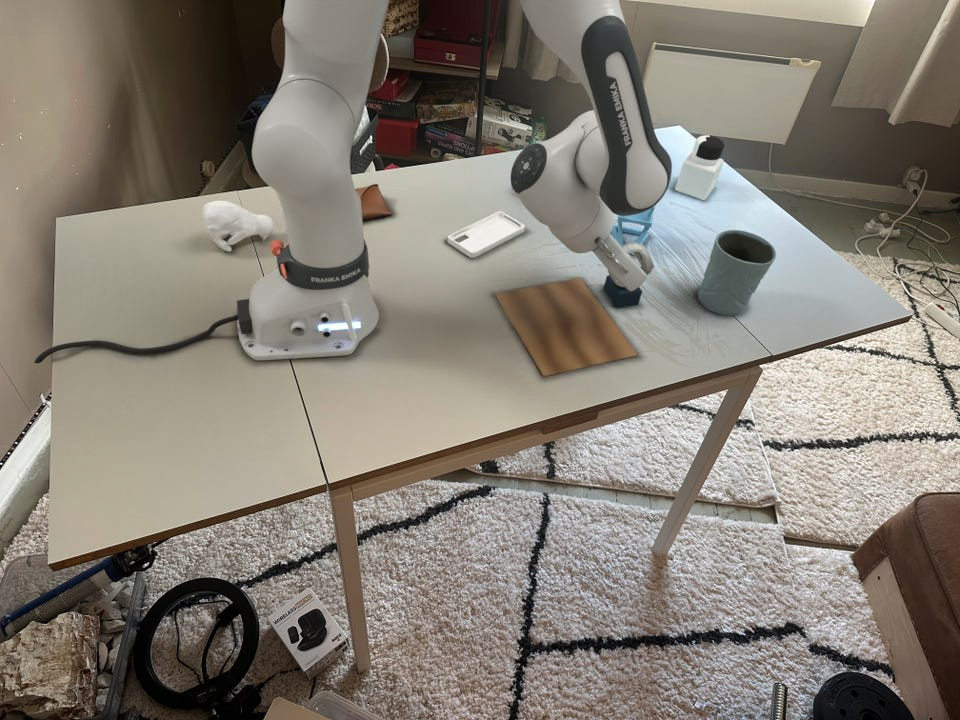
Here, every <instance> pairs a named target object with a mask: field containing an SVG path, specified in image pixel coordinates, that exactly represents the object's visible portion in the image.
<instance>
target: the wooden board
mask: <svg viewBox="0 0 960 720" xmlns="http://www.w3.org/2000/svg"><path fill="white" fill-rule="evenodd" d="M494 295H495V297H496V300H497V301H498V303H499V304H500V306H501V308H502V309H503V311H504V313H505V314H506V316H507V319H509V321H510V322H511V324H512V326H513V328H514V329H515V331H516V333H517V335H518V336H519V338H520V340H521V342H522V344H523V345H524V346H525V349H526V350H527V351H528V353H529V355H530V357H531V359H532V360H533V362H534V364H535V365H536V367H537V369H538V371H539V372H540V374H541V376H542V377H543V378H547V377H551V376H555V375H559V374H564V373H568V372H572V371H578V370H581V369H586V368H592V367H596V366H600V365H605V364H609V363H613V362H618V361H622V360H626V359H631V358H635V357H638V352H636V350H635V349H634V347H633V346H632V344H631V343H630V342H629V341H628V340H627V338H626V337H625V335H624V334H623V332H622V331H621V330H620V328H619V327H618V326H617V324H615V322H614V321H613V320H612V318H611V316H610V315H609V314H608V313H607V312H606V310H605V308H604V307H603V306H602V305H601V303H600V302H599V301H598V299H597V298H596V297H595V295H594V294H593V293H592V291H591V290H590V289H589V287H588V286H587V285H586V283H585V282H584V281H583V280H582V278H580V277H579V278H574V279H569V280H568V279H567V280H562V281H558V282H557V281H556V282H551V283H546V284H540V285H535V286H529V287H525V288H519V289H513V290H507V291H506V290H505V291H501V292H496V293H494Z"/></svg>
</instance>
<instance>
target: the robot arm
mask: <svg viewBox="0 0 960 720" xmlns="http://www.w3.org/2000/svg"><path fill="white" fill-rule="evenodd" d="M284 1H285V2H284V7H283V12H282V13H283V14H282V24H283V27H284V41H285V42H284V61H283V63H284V64H283V70H282V74H281V78H280V81H279V83H278V85H277V88H276V90H275V92H274V94H273V95H272V97H271V99H270V100H269V102H268V104H267V105H266V107H265V108H264V110H263V111H262V113H261V115H260V116H259V117H258V120H257V122H256V125H255V129H254V135H253V139H252V146H251V158H252V162H253V165H254V168H255V170H256V172H257V174H258V175H259V177H260V178H261V179H262V181H263V182H264V183H265V184H267V186H269V187H270V188H271V189H273V190H274V191H275V194H276V195H277V198H278V201H279V203H280V207H281V210H282V215H283V221H284V227H285V232H286V238H287V245H286V246H285V244H284V241H282V240H280V239H275V240H274V239H273V241H271V243H270V250H271V253H272V255H273V256H274V257H276V264H277V266H276V267H275V268H273V269H272V270H271V271H269V272H268V273H267V274H266V275H264V276H263V277H261V278H260V279H258V280H257V281H255V283H254V284H253V286H252V287H251V289H250V294H249V298H246V299H237V300H236V309H237V314H235V315H231V316H228V317H225V318H222V319H219V320H217V321H215V322H214V323H212V324H211V325H210V327H209V328H208V329H206V330H204V331H203V332H201V333H199V334H197V335H195V336H192V337H189V338H188V339H185V340H182V341H179V342H176V343H172V344H168V345H162V346H156V347H144V348H143V347H141V348H139V347H131V346H126V345H123V344H119V343H117V342H112V341H107V340H84V341H83V340H82V341H73V342H67V343H62V344H57V345H54V346H52V347H50V348H48V349H45V350H44V351H43V352H41V353H40V354H39V355H38V356H37V357H36V358H35V360H34V364H40V363H42V362H43V361H44V360H45V359H46V358H47V357H49V356H50V355H52V354H54V353H57V352H60V351H63V350H68V349H74V348H84V347H104V348H109V349H115V350H117V351H121V352H124V353H128V354H135V355H137V354H138V355H147V354H156V353H164V352H168V351H172V350H173V351H174V350H177V349H180V348H183V347H185V346H186V347H187V346H188V345H191V344H193V343H196V342H199V341H200V340H203V339H205V338H207V337H209V336H210V335H212V334H213V333H214V332H215V331H216V330H217V328H219V327H221V326H224V325H226V324H229V323H233V322H236V321H237V333H238V334H237V335H238V339H239V342H240V346H241V347H242V349H243V350H244V352H245V353H246V354H247V355H248V356H249V358H251V359H253V360H254V361H276V360H291V359H308V358H325V357H326V358H327V357H341V356H342V357H343V356H349V355H351V354H352V353H353V354H354V352H355V351H356V349H357V347H358V345H359V343H360V342H361V341H362V340H363V339H365V338H366V337H368V336H369V335H370V334H371V333H372V332H373V331H374V330H375V328H376V327H377V325H378V322H379V317H380V312H379V308H378V306H377V304H376V302H375V300H374V297H373V294H372V290H371V286H370V282H369V276H370V273H369V272H370V257H369V256H370V255H369V248H368V245H367V243H366V240H365V237H364V222H363V221H362V207H361V199H360V196H359V194H358V193H357V192H356V191H355V189H356V187H355V184H354V181H353V177H352V171H351V156H352V155H351V154H352V148H353V143H354V140H355V137H356V135H357V132H358V130H359V127H360V124H361V122H362V118H363V115H364V112H365V107H366V102H367V98H368V94H369V89H370V86H371V85H370V84H371V82H372V81H371V80H372V76H373V71H374V67H375V61H376V57H377V52H378V47H379V43H380V40H381V35H382V32H383V27H384V24H385V20H386V16H387V13H388V9H389V6H390V5H389V4H390V1H391V0H284ZM518 1H519V4H520V6H521V9H522V11H523V13H524V15H525V18H526V19H527V22H528V23H529V26H530V27H531V29H532V31H533V33H534V34H535V36H536V37H537V38H538V39H539V40H540V41H541V42H542V43H543V44H544V45H545V47H546V46H547V48H548V49H549V50H550V51H551V52H553V53H554V54H555V55H556V56H557V58H559V59H560V60H561V61H562V62H563V63H564V64H565V65H566V66H567V67H568V68H569V69H570V70H571V72H572V73H573V74H574V75H575V76H576V78H577V79H578V81H579V82H580V83H581V85H582V86H583V88H584V89H585V92H586V93H587V95H588V98H589V100H590V103H591V106H592V109H589V110H586V111H584V112H582V113H580V114H579V115H577V116H576V117H574V119H573V120H572V121H570V122H569V124H568V125H567V126H566V127H565V128H564V130H561V132H559V133H557V134H556V135H555V136H553V137H551V138H549V139H545V140H541V141H535V142H533V143H530V144H529V145H527V146H526V147H524V149H522V150H521V152H519V154H518V155H517V156H516V158H515V160H514V162H513V164H512V168H511V170H510V185H511V189H512V192H513V193H514V196H515V197H516V198H517V200H518V201H519V203H520V204H521V205H522V206H523V207H524V208H525V209H526V210H527V211H528V213H529V214H531V216H532V217H533V218H534V219H536V221H538V222H539V223H540V224H542V225H545V226H547V227H548V230H549V231H550V233H551V234H552V235H553V236H554V237H555V238H556V239H557V240H558V241H559V242H560V243H562V245H564V246H565V247H566V248H567V249H568V250H569V251H571V252H572V253H575V254H586V253H589V252H593V254H594V255H595V256H596V258H598V260H599V261H600V263H602V265H603V266H604V267H605V268H606V269H607V271H608V270H609V271H610V272H611V274H612V275H613V276H614V277H615V278H616V279H617V280H618V281H619V282H620V283H621V284H622V285H623V286H624V287H625V288H626V289H628V290H629V291H634V290H635V289H637V288H638V287H639V288H640V286H642V284H644V283H645V281H647V280H648V276H647V275H646V273H645V272H644V271H643V270H642V269H641V268H640V267H641V265H640V264H638V263H637V262H636V261H635V259H634V258H633V257H632V256H631V255H630V254H628V253H627V252H626V251H625V249H624V248H623V247H622V246H621V245H620V244H619V243H618V242H617V240H616V239H615V238H614V237H613V236H612V233H611V230H612V227H613V225H614V222H615V221H614V220H615V219H614V215H617V216H618V215H619V216H630V215H635V214H639V213H642V212H645V211H647V210H649V209H650V208H652V207H653V206H655V205H656V206H657V204H658V203H659V202H660V201H661V200H662V199H663V198H664V196H665V194H666V193H667V190H668V188H669V186H670V182H671V178H672V172H673V171H672V170H673V163H672V159H671V156H670V154H669V153H668V151H667V150H666V149H665V148H664V146H662V144H661V143H660V141H659V139H658V136H657V135H656V131H655V128H654V124H653V120H652V116H651V112H650V111H651V110H650V108H649V104H648V103H649V102H648V99H647V95H646V91H645V86H644V83H643V78H642V74H641V70H640V66H639V62H638V59H637V56H636V50H635V49H634V44H633V42H632V39H631V36H630V33H629V30H628V27H627V24H626V21H625V17H624V14H623V11H622V8H621V5H620V0H518ZM656 206H655V207H656Z"/></svg>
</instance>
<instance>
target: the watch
mask: <svg viewBox="0 0 960 720" xmlns="http://www.w3.org/2000/svg"><path fill="white" fill-rule="evenodd" d="M622 247H623V248H624V249H625V251H626V252H627V253H628V254H629V255H630V254H631V253H632V252H633V253H634V252H635V255H634V256H635V257H636V259H637V261H638V263H639V266H640V268H641V269H642V270H643V271H644V272H645V273H646V275H647V277H648V276H649V275H650V274H651V273H652V270H653V269H654V268H655V263H654V261H653V258H652V256H651V254H650V253H649V251H648V249H647V248H646V247H645V245H644V244H641V243H639V244H637V243H636V241H634V242H628V243H624V245H623V246H622ZM631 255H632V254H631ZM607 272H608V275H606V278H605V281H604V285H603V287H602V288H603V291H604V293H605V294H606V295H607V297H608V298H609V300H610V301H611V303H612V304H613V306H614V307H615V308H616V309H621V308H628V307H634V306H639V304H640V301H641V296H642V294H643V290H642V289H641V287H640V286H639V287H638V288H637V289H635V290H634V291H629V290H628V289H626V288H625V287H624V286H623V285H622V284H621V283H620V282H619V281H618V280H617V279H616V278H615V277H614V276H613V275H612V274H611V272H610V271H609V270H608V269H607Z"/></svg>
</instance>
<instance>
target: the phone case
mask: <svg viewBox="0 0 960 720" xmlns="http://www.w3.org/2000/svg"><path fill="white" fill-rule="evenodd" d="M510 219H511V220H510ZM516 223H517V224H516ZM518 224H519V225H518ZM525 229H526V225H525V224H524V223H522V222H521V221H519V220H517V219H516V218H514V217H512V216H511V215H509V214H507V213H506V212H504V211H502V210H499V211H496V212H494V213H492V214H490V215H488V216H486V217H484V218H482V219H480V220H477V221H475V222H473V223H471V224H469V225H467V226H465V227H463V228H461V229H459V230H457V231H454V232H452V233H449V235H448V236H447V243H448V244H449V245H451V246H452V247H453V248H455V249H456V250H458V251H460V252H461V253H463V254H464V255H466V256H467V257H469V258H470V259H475V258H477V257H479V256H481V255H483V254H485V253H487V252H489V251H491V250H493V249H494V248H496V247H498V246H500V245H502V244H505V243H506V242H508V241H510V240H512V239H514V238H516V237H518V236H520V235H521V234H523V233H524V232H525ZM463 236H465V237H467V238H466V239H464V240H462V241H460V242H458V241H456V240H457V239H459V238H461V237H463Z"/></svg>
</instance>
